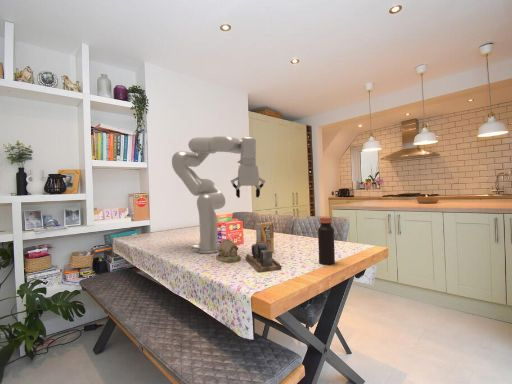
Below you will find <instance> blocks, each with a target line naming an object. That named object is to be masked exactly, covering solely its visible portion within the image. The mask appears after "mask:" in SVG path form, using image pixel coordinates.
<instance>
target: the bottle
mask: <svg viewBox="0 0 512 384" xmlns="http://www.w3.org/2000/svg"><path fill="white" fill-rule="evenodd" d="M319 224H320V226H319V227H318V229H317V239H318V245H317V246H318V262H319V264H321V265H325V266H326V265H327V266H331V265H334V264H335V263H336V262H335V261H336V260H335V259H336V257H335V256H336V255H335V254H336V253H335V229H334V228H333V226H332V217H331V216H320V217H319Z"/></svg>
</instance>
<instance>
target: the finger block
mask: <svg viewBox="0 0 512 384" xmlns="http://www.w3.org/2000/svg"><path fill="white" fill-rule="evenodd" d="M255 244H256V245H255V255H256V260H257V261H258V262H259V263H261V262H260V252H261V250H269V245H268V243H266V242H265V241H262V242H256V241H255Z"/></svg>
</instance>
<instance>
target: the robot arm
mask: <svg viewBox="0 0 512 384" xmlns="http://www.w3.org/2000/svg"><path fill="white" fill-rule="evenodd" d="M256 144H257V141H256V138H255V137H251V136H245V137H241V138H238V137H233V136H223V135H222V136H219V135H218V136H212V137H211V136H209V137H205V136H204V137H193V138H191V139H190V140H189V141H188V145H187V146H188V149H189V150H190V151H184V150H179V151H176V152H175V153H174V154H173V155H172V156H171V165H172V169H173V171H174V172H175V174H176V175H177V176H178V177H179V178H180V180H181V181H182V183H183V184H184V185H185V187H186V188H187V190H188V191H189V192H190V193H191V195H193V196H195V197H197V199H196V207H197V211H198V218H199V219H198V220H199V243H197V244H192V245H191V249H195V250H197V252H198V253H199V254H215V253H218V251H219V250H217V248H218V246H219V242H218V241H219V238H218V236H219V235H218V234H219V233H218V217H217V213H216V211H215V210H220V209H222V208H224V207H225V205H226V197H225V195H224V193H223V192H222V191H221V190H220V188H219V187H218V186H217V185H216V183H215V182H214V181H213V180H211V179H208V178H201V177H199V176H198V174H197V173H196V172H195V171H194V170H193V169H192V168H196V167H198V166H200V165H201V164H202V163H203V162H204V161H205V160H206V159H207V157H208V156H210V154H216V153H217V152H219V153H222V152H223V153H231V154H236V155H237V154H240V159H237V164H240V165H238V170H237V172H238V173H237V176H236V177H235V178H233V179H231V180H230V183H231V185H232V187H233V188H234V189H235V196H236V197H237V198H240V197H241V190H240V188H241V187H243V186H247V187H248V186H249V187H251V186H252V187H253V186H254V187H255V188H256V189H255V197H256V198H260V196H261V189H262V187H264V185H265V183H266V180H265V179H262V178H261V177H260V174H259V167H258V165H256V164H257V161H256V159H257V156H256V155H257V154H256V153H257V146H256ZM190 167H191V168H190ZM235 182H237V184H236V183H235Z"/></svg>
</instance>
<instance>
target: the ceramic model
mask: <svg viewBox="0 0 512 384" xmlns="http://www.w3.org/2000/svg"><path fill="white" fill-rule="evenodd" d="M217 250H219V251H218V252H217V253H218V254H216V256H215V257H216V259H215V260H216V261H218V262H222V263H225V264H226V263H227V264H232V263H237V262H239V261H241V260H242V259H241V258H242V257H241V256H240V255H239V254H238V251H239V247H238V245H237V244H236V243H235V242H233V241H232V240H231V239H230V238H226V239H222V241H221V243H218V248H217Z"/></svg>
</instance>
